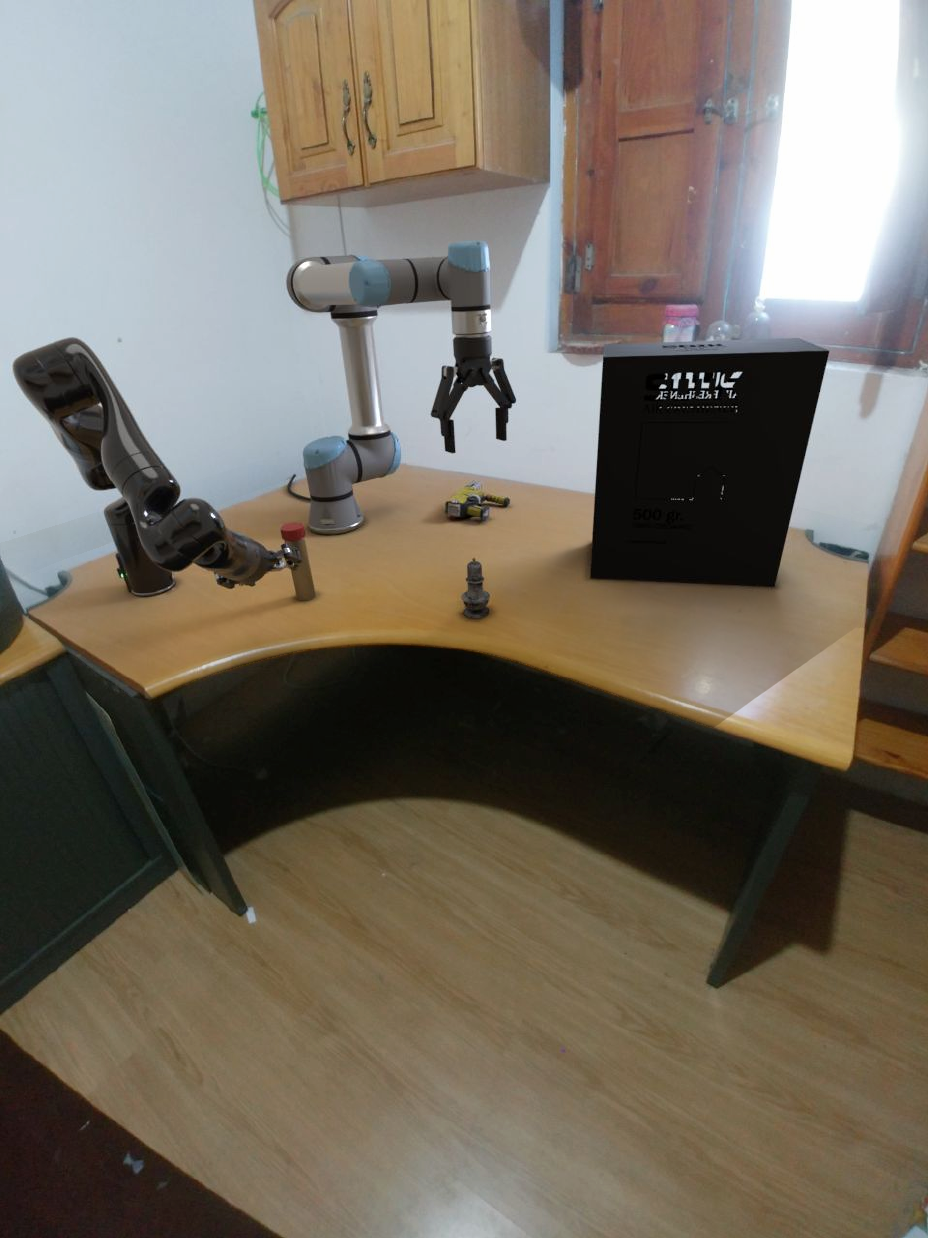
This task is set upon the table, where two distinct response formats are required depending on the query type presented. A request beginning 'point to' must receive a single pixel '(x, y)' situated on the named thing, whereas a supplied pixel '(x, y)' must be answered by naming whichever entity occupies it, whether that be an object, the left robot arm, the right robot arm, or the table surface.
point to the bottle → (302, 573)
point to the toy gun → (472, 502)
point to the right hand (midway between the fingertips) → (476, 445)
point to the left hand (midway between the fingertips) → (273, 573)
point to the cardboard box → (701, 458)
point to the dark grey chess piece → (475, 592)
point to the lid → (292, 531)
